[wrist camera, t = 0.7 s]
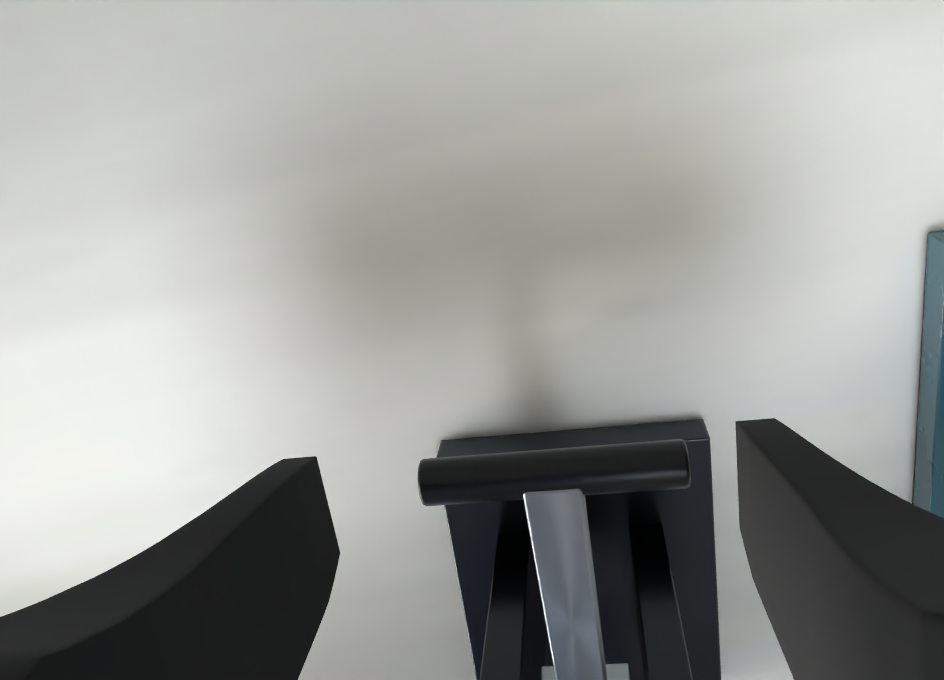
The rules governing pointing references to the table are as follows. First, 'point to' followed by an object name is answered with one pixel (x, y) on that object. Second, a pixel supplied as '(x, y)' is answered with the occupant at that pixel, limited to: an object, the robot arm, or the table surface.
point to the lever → (561, 526)
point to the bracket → (596, 565)
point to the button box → (932, 387)
